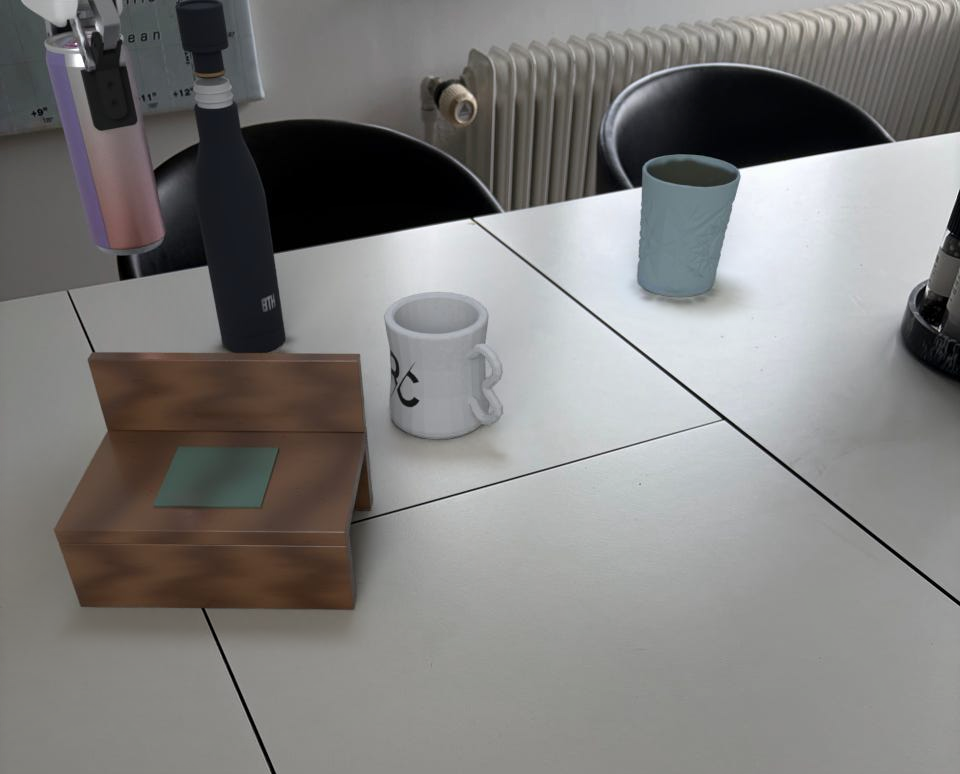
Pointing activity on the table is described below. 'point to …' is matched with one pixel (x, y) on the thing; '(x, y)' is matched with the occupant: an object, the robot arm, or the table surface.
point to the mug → (441, 365)
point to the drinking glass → (684, 222)
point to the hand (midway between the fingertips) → (100, 113)
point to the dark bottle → (230, 195)
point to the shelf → (221, 482)
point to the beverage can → (106, 159)
